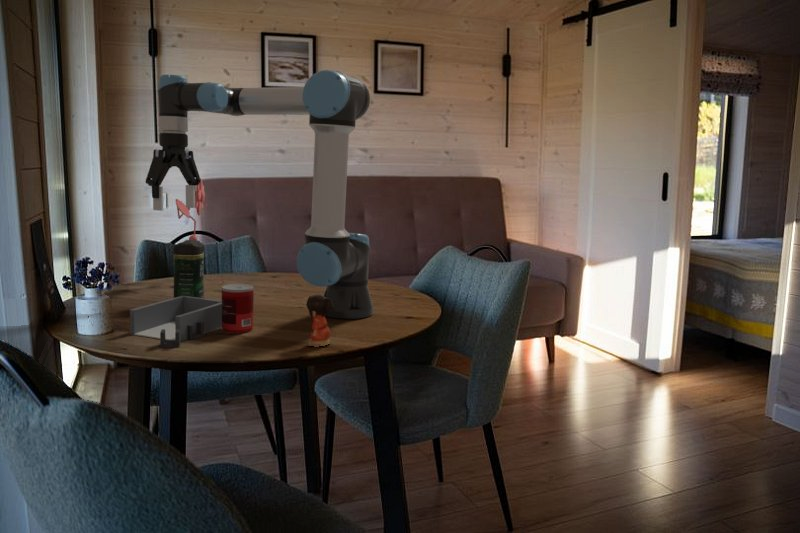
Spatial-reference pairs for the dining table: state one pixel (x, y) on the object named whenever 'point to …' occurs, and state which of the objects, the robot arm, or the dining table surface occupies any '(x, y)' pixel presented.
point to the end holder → (176, 317)
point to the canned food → (237, 308)
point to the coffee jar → (189, 269)
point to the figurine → (319, 319)
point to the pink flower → (198, 205)
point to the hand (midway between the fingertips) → (174, 209)
